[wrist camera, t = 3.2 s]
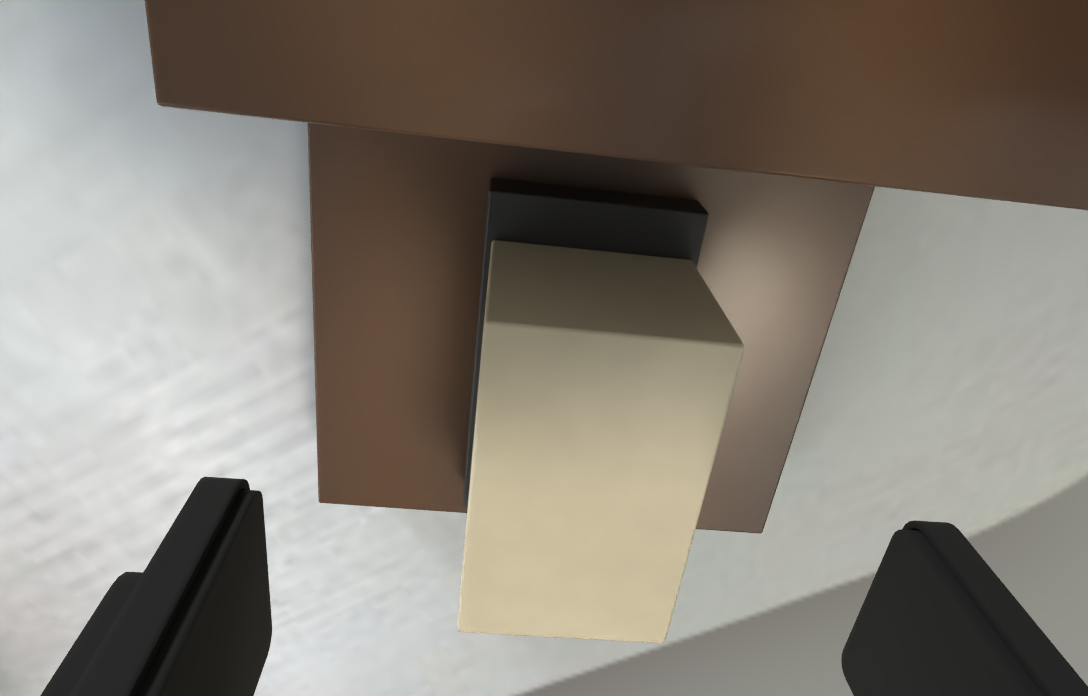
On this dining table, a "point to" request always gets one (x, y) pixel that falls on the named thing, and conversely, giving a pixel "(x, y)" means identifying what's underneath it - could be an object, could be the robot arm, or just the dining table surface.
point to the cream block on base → (589, 412)
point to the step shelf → (616, 174)
